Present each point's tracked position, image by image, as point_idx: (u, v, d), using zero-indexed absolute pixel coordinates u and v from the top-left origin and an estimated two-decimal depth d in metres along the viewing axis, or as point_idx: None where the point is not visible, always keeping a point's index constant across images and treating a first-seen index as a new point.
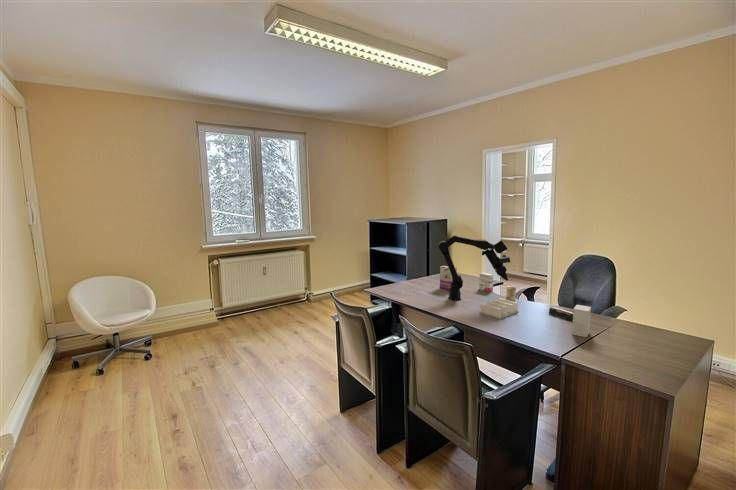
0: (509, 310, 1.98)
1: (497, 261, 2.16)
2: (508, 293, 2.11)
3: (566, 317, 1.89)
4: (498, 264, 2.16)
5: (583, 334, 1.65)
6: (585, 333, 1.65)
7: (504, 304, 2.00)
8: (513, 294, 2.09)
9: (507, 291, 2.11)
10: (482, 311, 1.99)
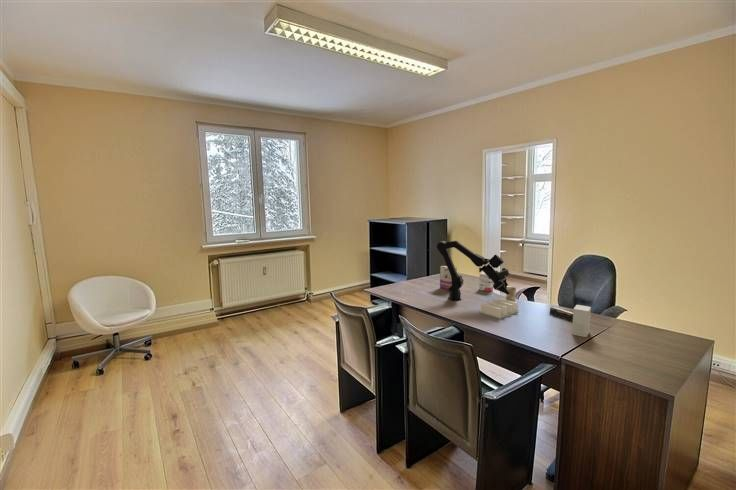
0: (509, 310, 1.98)
1: (495, 275, 2.11)
2: None
3: (566, 317, 1.89)
4: (497, 279, 2.11)
5: (583, 334, 1.65)
6: (585, 333, 1.65)
7: (504, 304, 2.00)
8: (513, 294, 2.09)
9: None
10: (482, 311, 1.99)
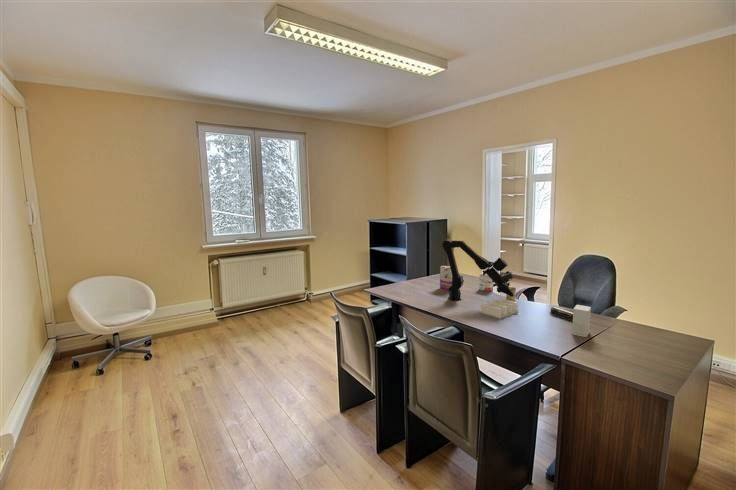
0: (509, 310, 1.98)
1: (499, 279, 2.11)
2: None
3: (567, 317, 1.88)
4: (500, 282, 2.10)
5: (583, 334, 1.65)
6: (585, 333, 1.65)
7: (504, 304, 2.00)
8: (513, 294, 2.09)
9: None
10: (482, 311, 1.99)
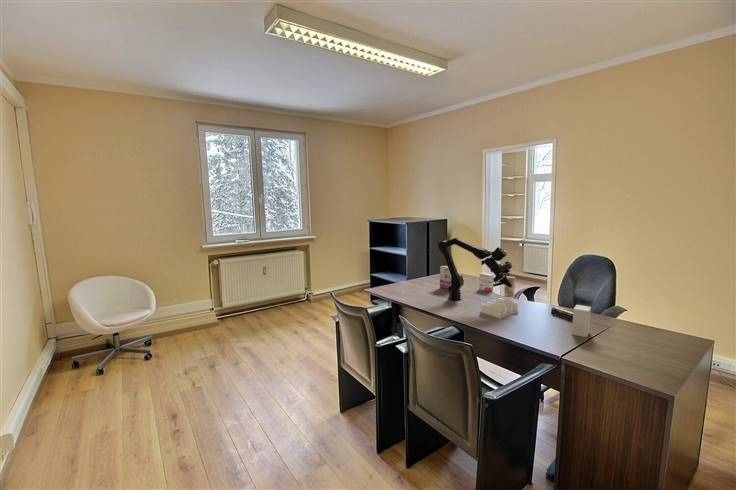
0: (509, 310, 1.98)
1: (497, 269, 2.07)
2: None
3: (567, 317, 1.88)
4: (498, 272, 2.06)
5: (583, 334, 1.65)
6: (585, 333, 1.65)
7: (504, 304, 2.00)
8: None
9: None
10: (482, 311, 1.99)
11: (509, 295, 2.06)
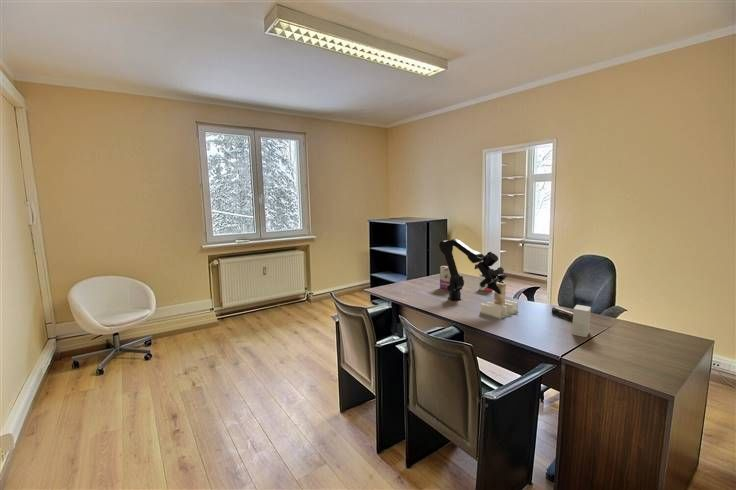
0: (509, 310, 1.98)
1: (487, 274, 2.02)
2: None
3: (567, 317, 1.88)
4: (488, 277, 2.01)
5: (583, 334, 1.65)
6: (585, 333, 1.65)
7: (504, 304, 2.00)
8: (500, 291, 1.97)
9: None
10: (482, 311, 1.99)
11: (498, 302, 1.99)
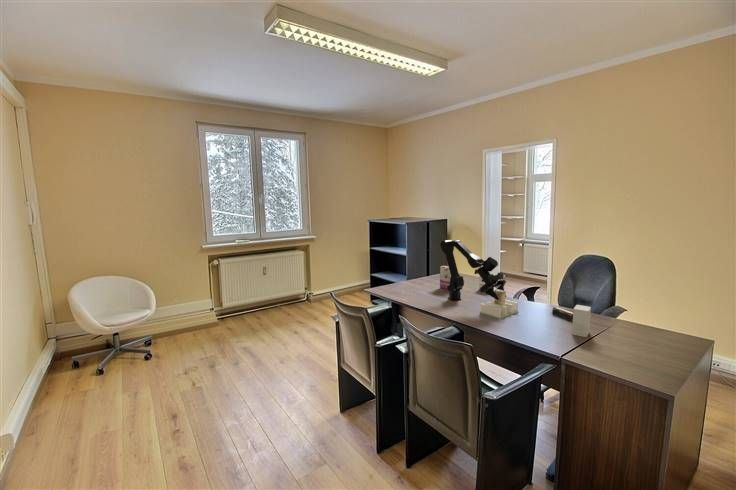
0: (509, 310, 1.98)
1: (487, 279, 2.02)
2: None
3: (567, 318, 1.88)
4: (488, 282, 2.01)
5: (583, 334, 1.65)
6: (585, 333, 1.65)
7: None
8: (500, 299, 1.97)
9: None
10: (482, 311, 1.99)
11: None
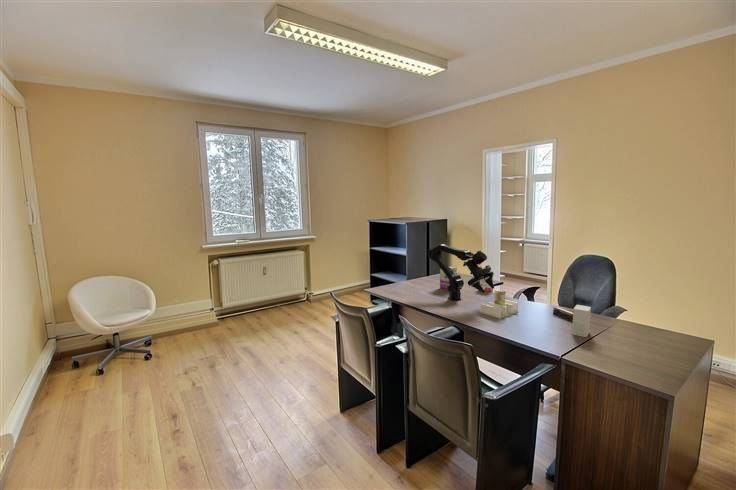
0: (509, 310, 1.98)
1: (475, 272, 2.10)
2: (495, 297, 2.00)
3: (568, 318, 1.88)
4: (476, 275, 2.10)
5: (583, 334, 1.65)
6: (585, 333, 1.65)
7: None
8: (500, 299, 1.97)
9: (495, 295, 2.00)
10: (482, 311, 1.99)
11: None
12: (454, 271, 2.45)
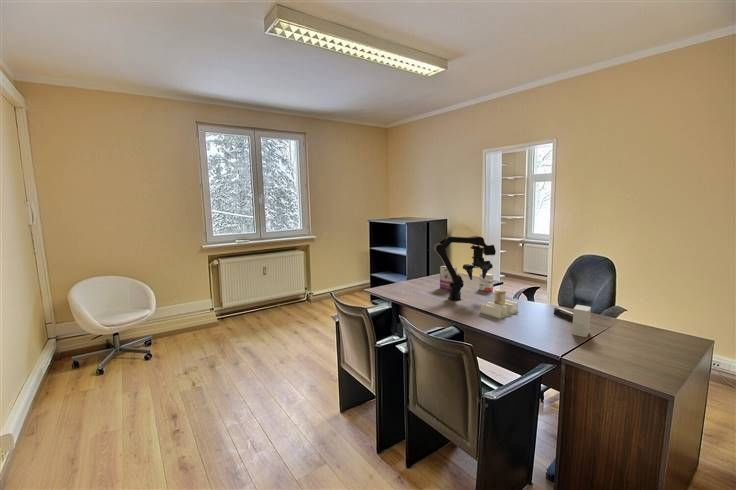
0: (509, 310, 1.98)
1: (475, 260, 2.22)
2: (495, 297, 2.00)
3: (568, 318, 1.88)
4: (474, 263, 2.23)
5: (583, 334, 1.65)
6: (585, 333, 1.65)
7: None
8: (500, 299, 1.97)
9: (495, 295, 2.00)
10: (482, 311, 1.99)
11: None
12: None
